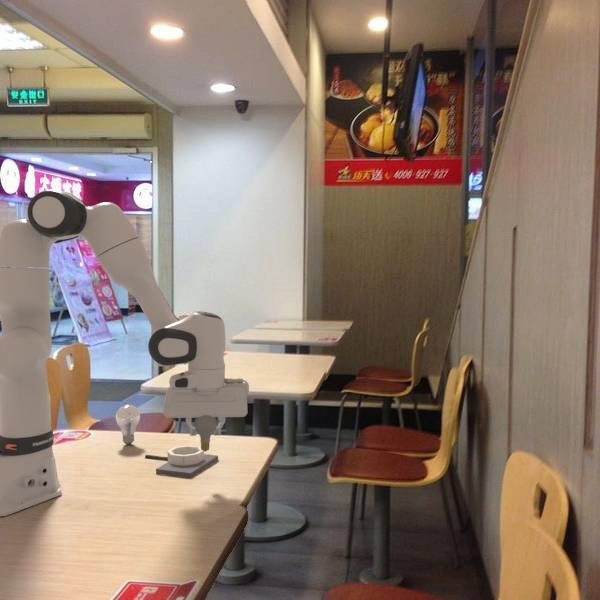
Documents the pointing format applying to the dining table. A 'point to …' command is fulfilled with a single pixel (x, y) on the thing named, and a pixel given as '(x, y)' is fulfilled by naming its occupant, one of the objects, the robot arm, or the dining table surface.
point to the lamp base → (184, 461)
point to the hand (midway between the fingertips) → (205, 435)
